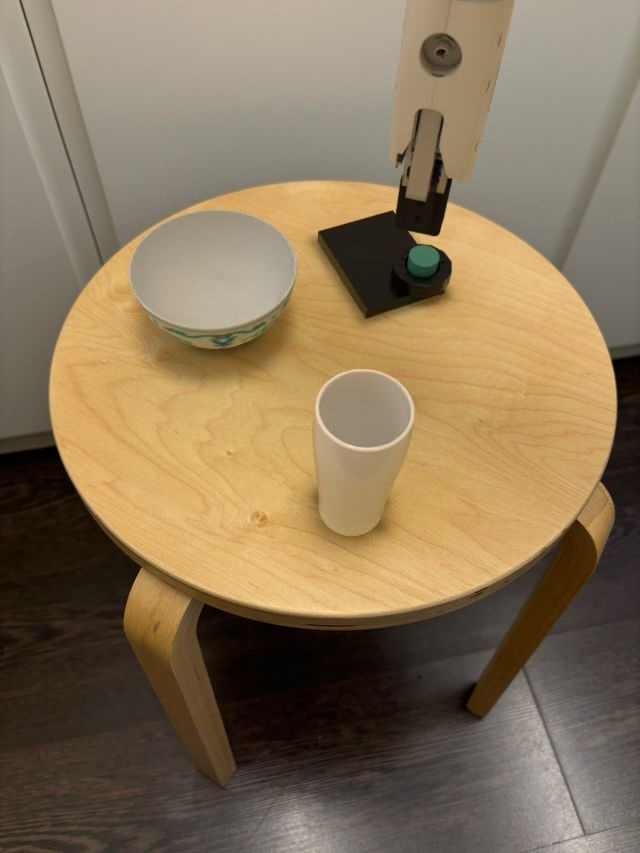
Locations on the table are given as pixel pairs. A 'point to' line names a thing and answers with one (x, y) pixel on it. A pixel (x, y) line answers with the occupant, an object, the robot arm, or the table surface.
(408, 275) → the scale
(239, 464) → the table surface
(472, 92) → the robot arm
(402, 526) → the table surface
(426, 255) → the tare button
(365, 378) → the white tall cup
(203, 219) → the chinaware
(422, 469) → the table surface
